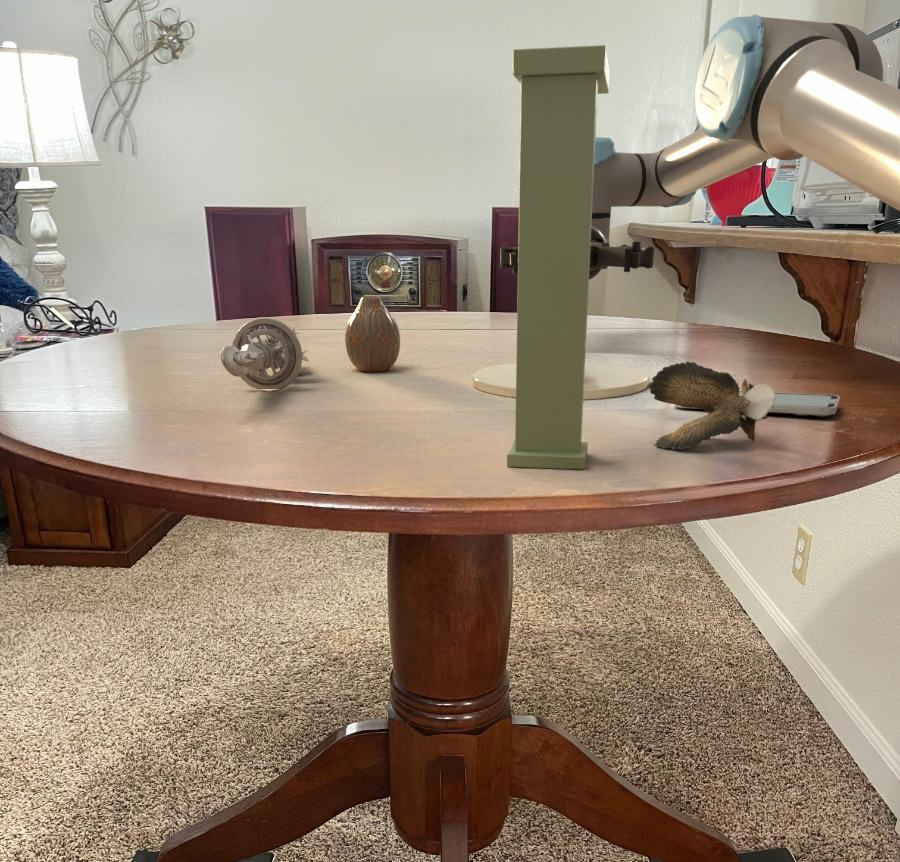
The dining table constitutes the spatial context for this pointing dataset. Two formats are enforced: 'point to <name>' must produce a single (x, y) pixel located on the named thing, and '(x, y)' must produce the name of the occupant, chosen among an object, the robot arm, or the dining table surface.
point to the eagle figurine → (709, 403)
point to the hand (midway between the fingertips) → (572, 260)
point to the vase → (372, 336)
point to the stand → (554, 249)
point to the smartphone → (802, 404)
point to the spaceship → (264, 354)
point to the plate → (596, 380)
